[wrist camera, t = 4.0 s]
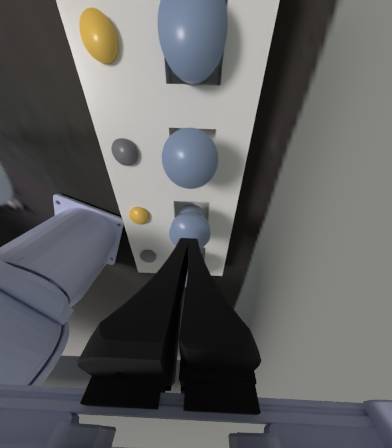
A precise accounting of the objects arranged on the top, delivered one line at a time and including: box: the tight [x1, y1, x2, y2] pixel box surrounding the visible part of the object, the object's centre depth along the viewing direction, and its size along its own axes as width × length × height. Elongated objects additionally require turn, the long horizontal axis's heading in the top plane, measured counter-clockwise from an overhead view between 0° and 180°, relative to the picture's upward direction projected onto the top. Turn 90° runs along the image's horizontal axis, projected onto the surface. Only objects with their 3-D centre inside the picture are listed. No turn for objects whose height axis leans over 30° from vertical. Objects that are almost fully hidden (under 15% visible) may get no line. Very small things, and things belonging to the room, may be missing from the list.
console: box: [56, 0, 280, 276], centre depth 14 cm, size 25×12×3 cm, turn 178°
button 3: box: [162, 128, 218, 189], centre depth 10 cm, size 4×4×3 cm
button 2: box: [169, 204, 210, 248], centre depth 14 cm, size 4×4×3 cm
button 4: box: [158, 0, 228, 85], centre depth 9 cm, size 4×4×3 cm
